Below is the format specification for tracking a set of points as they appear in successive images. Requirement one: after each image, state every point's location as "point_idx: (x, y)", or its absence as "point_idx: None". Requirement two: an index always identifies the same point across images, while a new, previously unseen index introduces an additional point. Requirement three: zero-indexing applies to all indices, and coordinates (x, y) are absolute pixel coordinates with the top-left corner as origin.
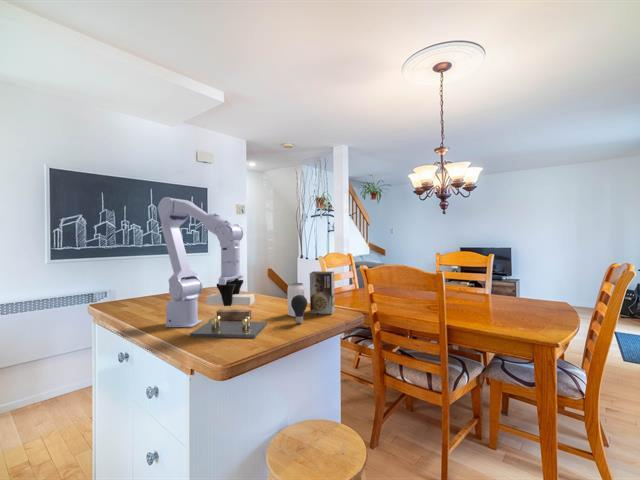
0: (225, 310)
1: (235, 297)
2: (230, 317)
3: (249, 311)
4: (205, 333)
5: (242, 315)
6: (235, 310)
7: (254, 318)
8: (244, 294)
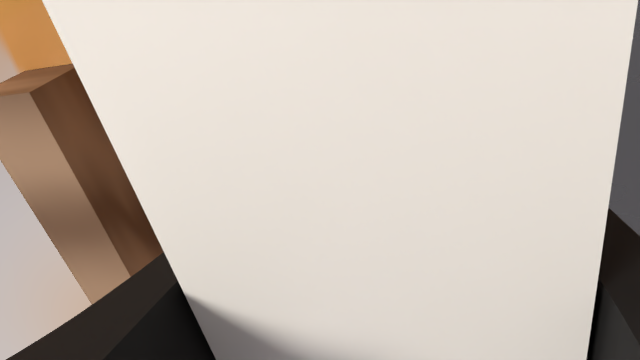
0: (108, 290)
1: (601, 215)
2: (142, 215)
3: (10, 94)
4: (638, 215)
5: (85, 135)
6: (65, 224)
7: (17, 35)
8: (149, 126)
